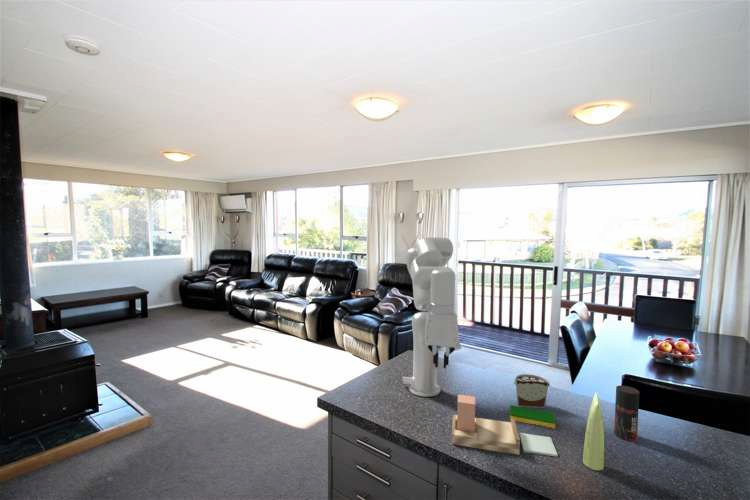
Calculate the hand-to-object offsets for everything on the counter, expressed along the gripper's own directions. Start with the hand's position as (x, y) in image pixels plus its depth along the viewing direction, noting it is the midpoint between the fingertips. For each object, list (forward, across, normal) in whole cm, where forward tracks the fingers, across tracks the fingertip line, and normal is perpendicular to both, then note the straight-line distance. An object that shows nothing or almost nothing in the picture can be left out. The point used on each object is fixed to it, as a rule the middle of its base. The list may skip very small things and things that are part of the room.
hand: (440, 366), depth 112 cm
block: (+15, +8, 0) cm, 17 cm away
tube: (+21, +42, -6) cm, 48 cm away
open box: (+21, +14, 0) cm, 25 cm away
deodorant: (+21, +57, +14) cm, 62 cm away
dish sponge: (+22, +30, +16) cm, 41 cm away
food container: (+21, +31, +28) cm, 47 cm away
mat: (+21, +29, 0) cm, 36 cm away
